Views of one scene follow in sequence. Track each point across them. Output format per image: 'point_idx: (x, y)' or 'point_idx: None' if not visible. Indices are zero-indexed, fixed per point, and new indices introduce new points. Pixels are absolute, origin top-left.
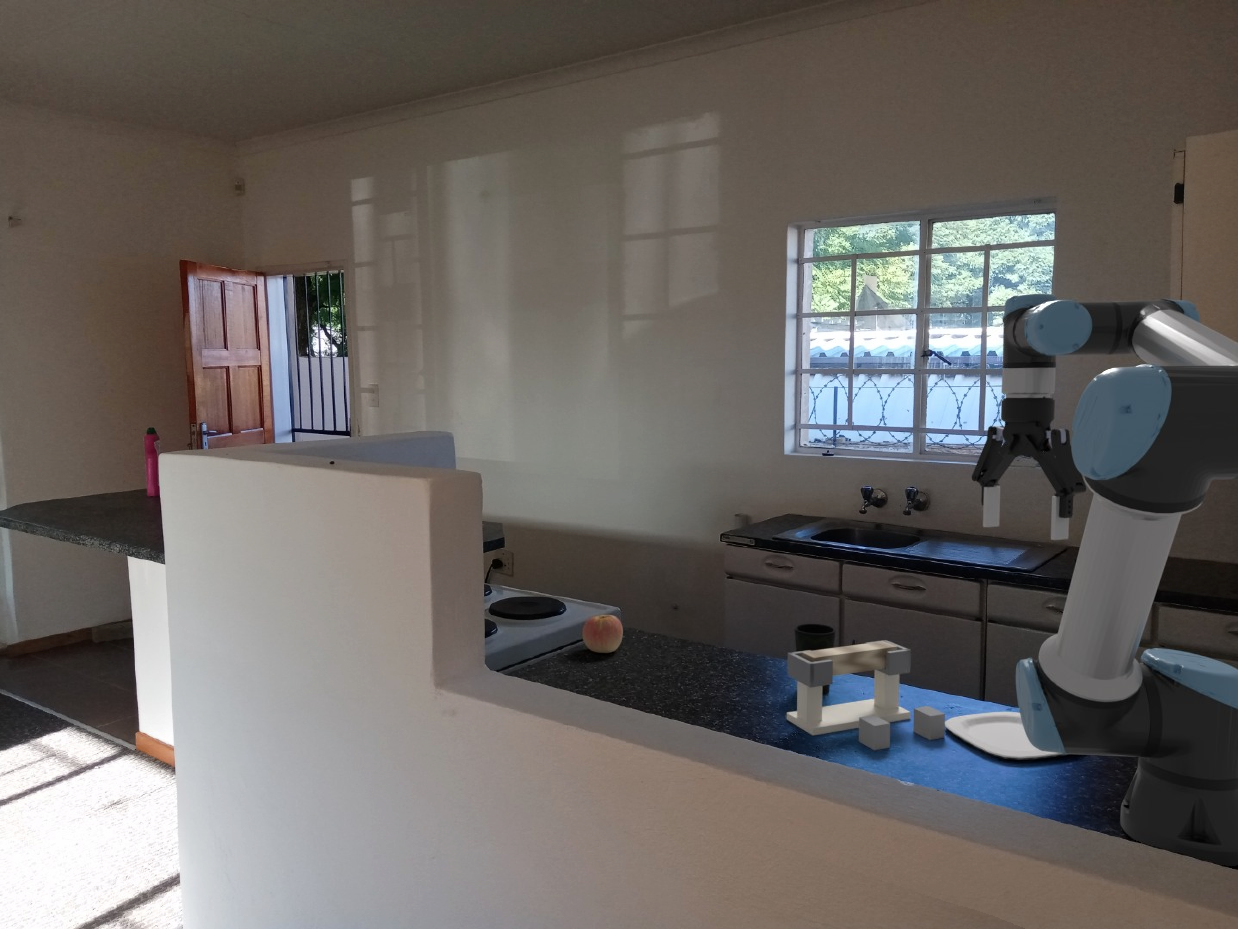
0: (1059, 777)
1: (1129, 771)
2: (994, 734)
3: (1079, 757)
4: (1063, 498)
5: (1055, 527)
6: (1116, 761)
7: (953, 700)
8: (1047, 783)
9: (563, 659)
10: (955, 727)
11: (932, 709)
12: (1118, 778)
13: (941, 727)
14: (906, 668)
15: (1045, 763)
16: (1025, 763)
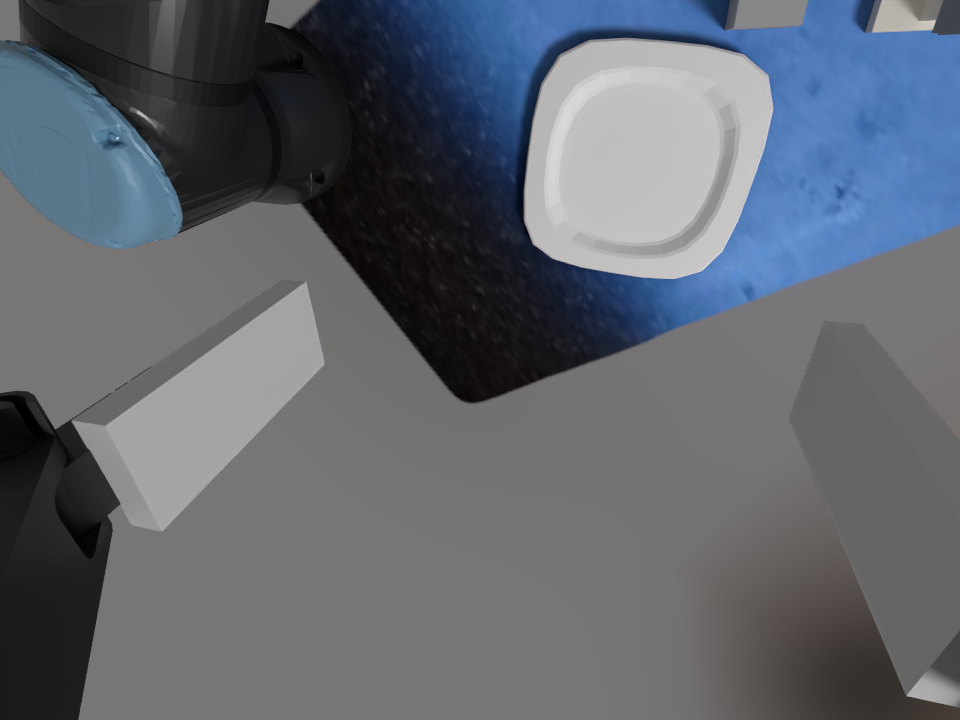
0: (477, 109)
1: (457, 237)
2: (664, 146)
3: None
4: (69, 435)
5: (240, 310)
6: (491, 253)
7: (867, 230)
8: (466, 65)
9: None
10: (722, 69)
11: (776, 16)
12: (444, 199)
13: (730, 17)
14: (945, 16)
15: (529, 136)
16: None
